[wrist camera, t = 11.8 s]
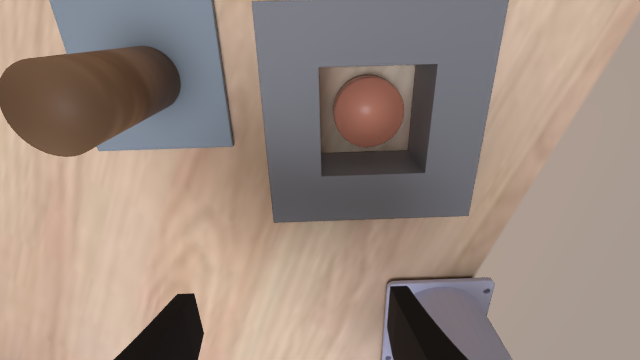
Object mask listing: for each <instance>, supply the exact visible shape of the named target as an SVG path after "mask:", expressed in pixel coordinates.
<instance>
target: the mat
mask: <svg viewBox="0 0 640 360" xmlns="http://www.w3.org/2000/svg"><path fill="white" fill-rule="evenodd" d="M49 1H50V4H51V7H52V10H53V13H54V16H55V19H56V22H57V25H58V28H59V31H60V34H61V37H62V40H63V44H64V47H65V50H66V53H67V54H73V53H81V52H90V51H99V50H108V49H117V48H126V47H135V46H148V47H152V48H155V49H157V50H159V51H161V52H163V53H164V54H165V55H167V56H168V57H169V58H170V59H171V61H172V62H173V63H174V65H175V66H176V68H177V70H178V73H179V76H180V81H181V88H180V93H179V96H178V98H177V99H176V101H175V102H174V103H173V104H172V105H170V106H169V107H167V108H165V109H163V110H162V111H160V112H158V113H156V114H154V115H153V116H151V117H149V118H147V119H145V120H143V121H142V122H140V123H138V124H136V125H134V126H133V127H131V128H129V129H127V130H125V131H123V132H122V133H120V134H118V135H116V136H114V137H113V138H111V139H109V140H107V141H105V142H103V143H102V144H100V145H98V146H97V148H98V151H116V150H147V149H177V148H208V147H233V145H234V142H233V135H232V128H231V121H230V114H229V107H228V100H227V93H226V86H225V79H224V72H223V65H222V58H221V51H220V44H219V37H218V30H217V23H216V16H215V9H214V2H213V0H49Z"/></svg>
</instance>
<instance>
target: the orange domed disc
mask: <svg viewBox="0 0 640 360" xmlns="http://www.w3.org/2000/svg"><path fill="white" fill-rule="evenodd" d="M333 111H334V118H335V122H336V125H337V128H338V130H339V132H340V133H341V135H342V136H343V137H344V138H345V139H346V140H347V141H349V142H350V143H352V144H354V145H357V146H362V147H373V146H377V145H380V144H382V143H384V142H386V141H388V140H389V139H390V138H391V137H393V136H394V134H395V133H396V132H397V131H398V129H399V127H400V126H401V123H402V120H403V116H404V104H403V100H402V98H401V95H400V94H399V92H398V91H397V90H396V88H395V87H393V86H392V85H391V84H390V83H389V82H387V81H386V80H384V79H382V78H380V77H378V76H373V75H363V76H359V77H356V78H353V79H352V80H350V81H348V82H347V83H346V84H345V85H344V86H343V87H342V88H341V89H340V91H339V92H338V94H337V96H336V98H335V101H334V109H333Z"/></svg>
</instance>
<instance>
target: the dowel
mask: <svg viewBox="0 0 640 360" xmlns="http://www.w3.org/2000/svg"><path fill="white" fill-rule="evenodd" d="M180 88H181V81H180V76H179V73H178V70H177V68H176V66H175V65H174V63H173V62H172V61H171V59H170V58H169V57H168V56H167V55H165V54H164V53H163V52H161V51H159V50H157V49H155V48H152V47H148V46H135V47H126V48H117V49H108V50H99V51H90V52H81V53H73V54H64V55H55V56H46V57H37V58H28V59H23V60H20V61H17V62H15V63H13V64H12V65H10V66H9V67H8V68H7V69H6V70H5V71H4V73H3V74H2V76H1V78H0V107H1V110H2V113H3V115H4V117H5V119H6V120H7V122H8V123H9V125H10V126H11V128H12V129H13V130H14V131H15V132H16V133H17V134H18V135H19V136H20V137H21V138H22V139H23V140H24V141H26V142H27V143H28V144H30V145H31V146H33V147H35V148H37V149H39V150H40V151H43V152H45V153H48V154H52V155H56V156H64V157H69V156H77V155H80V154H83V153H85V152H87V151H89V150H91V149H93V148H94V147H96V146H98V145H100V144H102V143H103V142H105V141H107V140H109V139H111V138H113V137H114V136H116V135H118V134H120V133H122V132H123V131H125V130H127V129H129V128H131V127H133V126H134V125H136V124H138V123H140V122H142V121H143V120H145V119H147V118H149V117H151V116H153V115H154V114H156V113H158V112H160V111H162V110H163V109H165V108H167V107H169V106H170V105H172V104H173V103H174V102H175V101H176V99H177V98H178V96H179V93H180Z"/></svg>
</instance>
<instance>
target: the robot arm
mask: <svg viewBox="0 0 640 360" xmlns="http://www.w3.org/2000/svg"><path fill="white" fill-rule="evenodd" d="M485 289H486V290H485ZM493 289H494V282H493V281H492V279H491V278H461V279H433V280H406V281H391V282H389V283H388V284H387V290H386V303H385V317H384V330H383V343H382V356H381V360H512V358H511V357H510V355H509V353H508V351H507V350H506V348H505V346H504V345H503V343H502V341H501V339H500V338H499V336H498V334H497V333H496V331H495V329H494V328H493V326H492V324H491V323H490V321H489V319H488V318H487V312H488V308H489V304H490V301H491V297H492V293H493ZM203 335H204V332H203V328H202V324H201V320H200V316H199V312H198V307H197V303H196V299H195V295H194V294H177V295H176V296H175V297H174V298H173V299H172V300H171V301H170V302H169V303H168V305H167V306H166V307H165V308H164V309H163V310H162V311H161V312H160V313H159V314H158V315H157V316H156V317H155V318H154V320H153V321H152V322H151V323H150V324H149V325H148V326H147V327H146V328H145V329H144V330H143V331H142V332H141V333H140V334H139V335H138V336H137V337H136V338H135V339H134V340H133V341H132V342H131V343H130V344H129V345H128V346H127V347H126V348H125V349H124V350H123V351H122V352H121V353H120V354H119V355H118V356H117V357H116V358H115V359H114V360H198V356H199V352H200V348H201V344H202V339H203Z"/></svg>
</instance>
